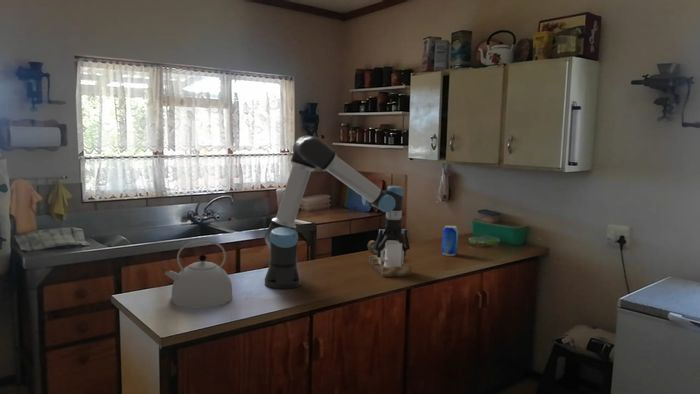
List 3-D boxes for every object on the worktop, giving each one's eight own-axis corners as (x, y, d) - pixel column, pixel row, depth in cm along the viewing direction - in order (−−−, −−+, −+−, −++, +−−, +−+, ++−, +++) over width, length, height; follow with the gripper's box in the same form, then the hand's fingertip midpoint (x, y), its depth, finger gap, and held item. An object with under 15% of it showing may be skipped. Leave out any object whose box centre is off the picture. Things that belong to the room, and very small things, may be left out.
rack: (382, 276, 235) (383, 267, 235) (369, 263, 256) (369, 255, 256) (410, 275, 239) (411, 267, 238) (395, 263, 260) (395, 255, 259)
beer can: (458, 254, 285) (460, 226, 283) (453, 257, 278) (455, 228, 276) (444, 251, 289) (446, 224, 287) (438, 254, 282) (440, 226, 280)
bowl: (402, 259, 268) (403, 241, 267) (374, 262, 259) (375, 243, 258) (387, 253, 280) (388, 235, 278) (360, 256, 271) (361, 237, 269)
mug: (385, 270, 238) (387, 245, 237) (374, 265, 245) (376, 241, 244) (405, 267, 245) (406, 243, 243) (393, 263, 252) (395, 239, 250)
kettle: (166, 311, 181) (166, 249, 178) (163, 291, 201) (163, 235, 198) (237, 304, 190) (238, 246, 187) (227, 286, 211) (228, 233, 208)
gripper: (373, 219, 236) (370, 266, 239) (418, 219, 241) (415, 265, 244) (368, 217, 243) (366, 262, 246) (413, 217, 249) (410, 261, 252)
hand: (390, 263), depth 245 cm, fingers closed on mug, 10 cm apart
